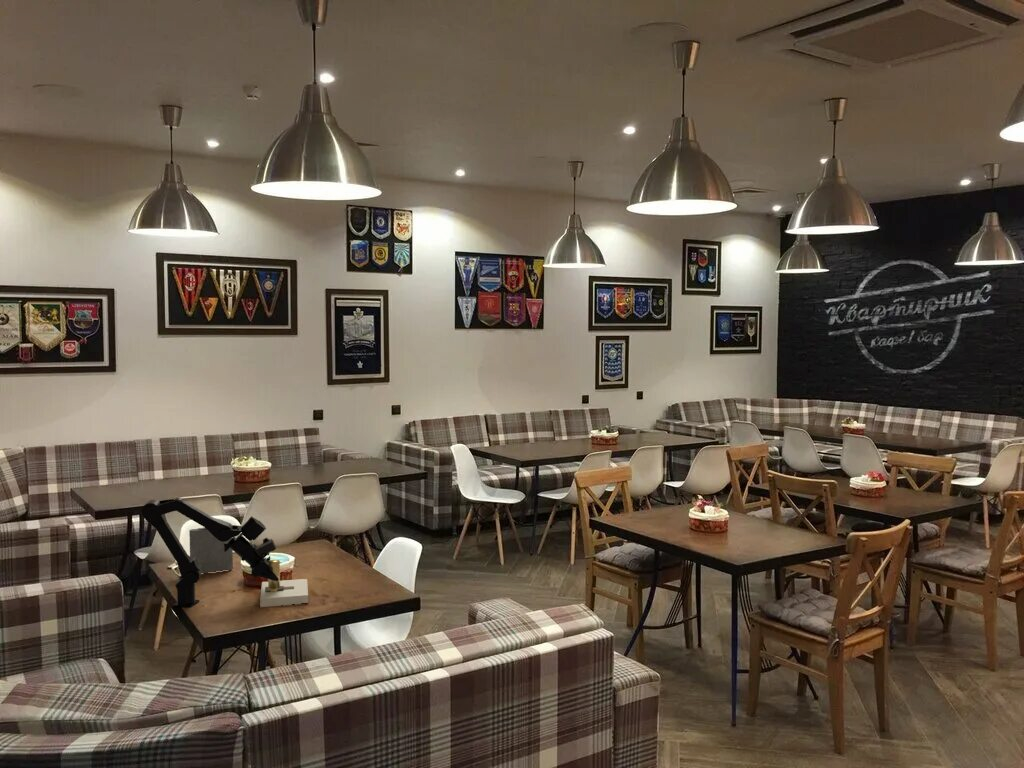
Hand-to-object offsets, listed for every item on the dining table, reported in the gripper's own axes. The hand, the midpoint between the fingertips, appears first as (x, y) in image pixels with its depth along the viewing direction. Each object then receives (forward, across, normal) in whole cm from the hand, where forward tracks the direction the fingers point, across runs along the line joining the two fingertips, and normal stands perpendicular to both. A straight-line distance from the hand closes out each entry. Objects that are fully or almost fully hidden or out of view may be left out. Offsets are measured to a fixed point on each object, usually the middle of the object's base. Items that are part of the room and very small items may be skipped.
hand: (278, 578), depth 297 cm
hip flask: (-13, +39, +23) cm, 47 cm away
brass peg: (+4, 0, +6) cm, 7 cm away
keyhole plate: (+6, 0, +4) cm, 7 cm away
